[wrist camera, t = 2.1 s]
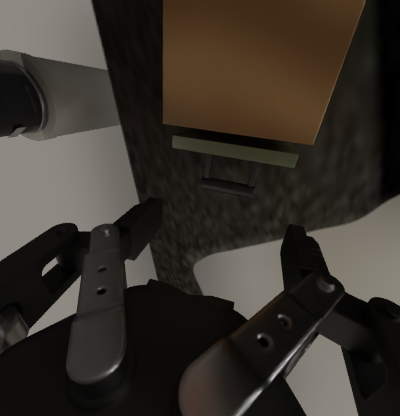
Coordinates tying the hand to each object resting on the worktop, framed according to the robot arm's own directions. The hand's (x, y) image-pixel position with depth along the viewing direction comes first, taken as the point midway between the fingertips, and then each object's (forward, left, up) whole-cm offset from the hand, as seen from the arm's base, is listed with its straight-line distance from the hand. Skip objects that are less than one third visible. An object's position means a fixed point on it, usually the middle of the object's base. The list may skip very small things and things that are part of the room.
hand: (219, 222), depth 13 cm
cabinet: (-1, +12, -17) cm, 20 cm away
